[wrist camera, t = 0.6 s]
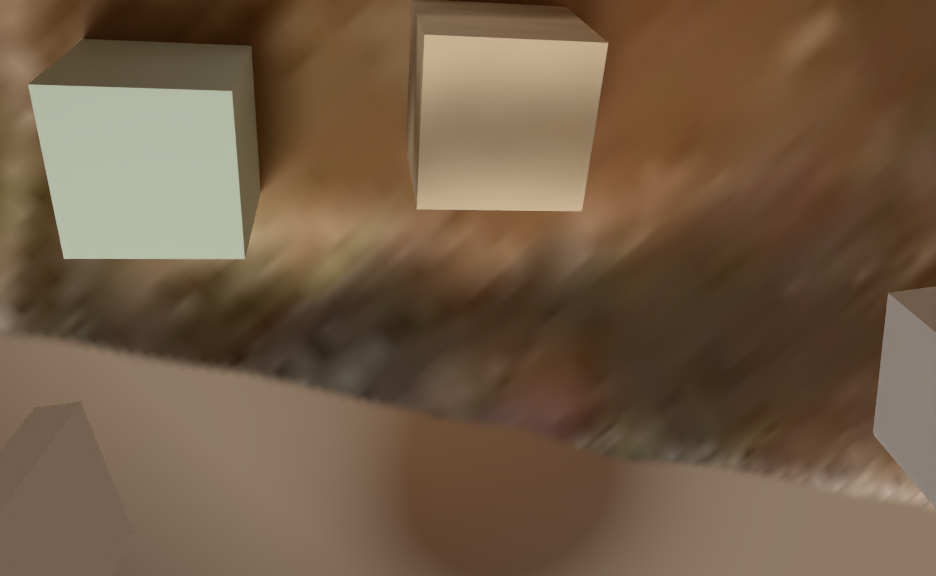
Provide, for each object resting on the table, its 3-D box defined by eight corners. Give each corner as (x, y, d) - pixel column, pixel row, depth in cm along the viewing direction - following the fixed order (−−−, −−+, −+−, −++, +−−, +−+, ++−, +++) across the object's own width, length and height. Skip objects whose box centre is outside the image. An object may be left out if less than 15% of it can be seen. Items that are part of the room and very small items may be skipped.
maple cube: (411, -2, 30) (424, 34, 25) (565, 6, 31) (608, 42, 26) (406, 148, 33) (416, 209, 28) (546, 152, 34) (581, 211, 29)
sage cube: (84, 38, 29) (28, 84, 24) (251, 45, 30) (232, 91, 25) (108, 189, 32) (63, 258, 27) (260, 191, 33) (244, 259, 28)
